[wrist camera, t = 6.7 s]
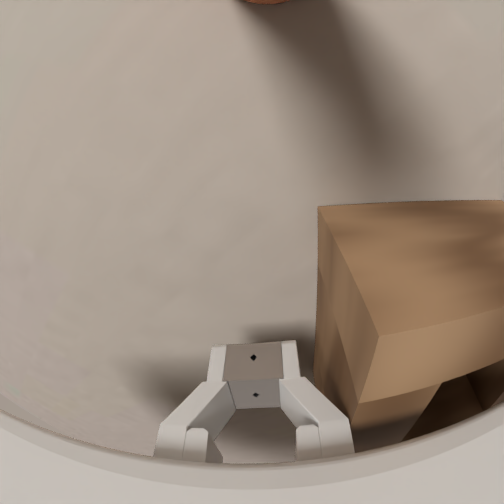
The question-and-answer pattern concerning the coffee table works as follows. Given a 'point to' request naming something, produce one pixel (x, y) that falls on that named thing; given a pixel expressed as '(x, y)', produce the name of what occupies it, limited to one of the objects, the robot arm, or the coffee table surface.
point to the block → (410, 315)
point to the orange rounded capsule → (267, 1)
